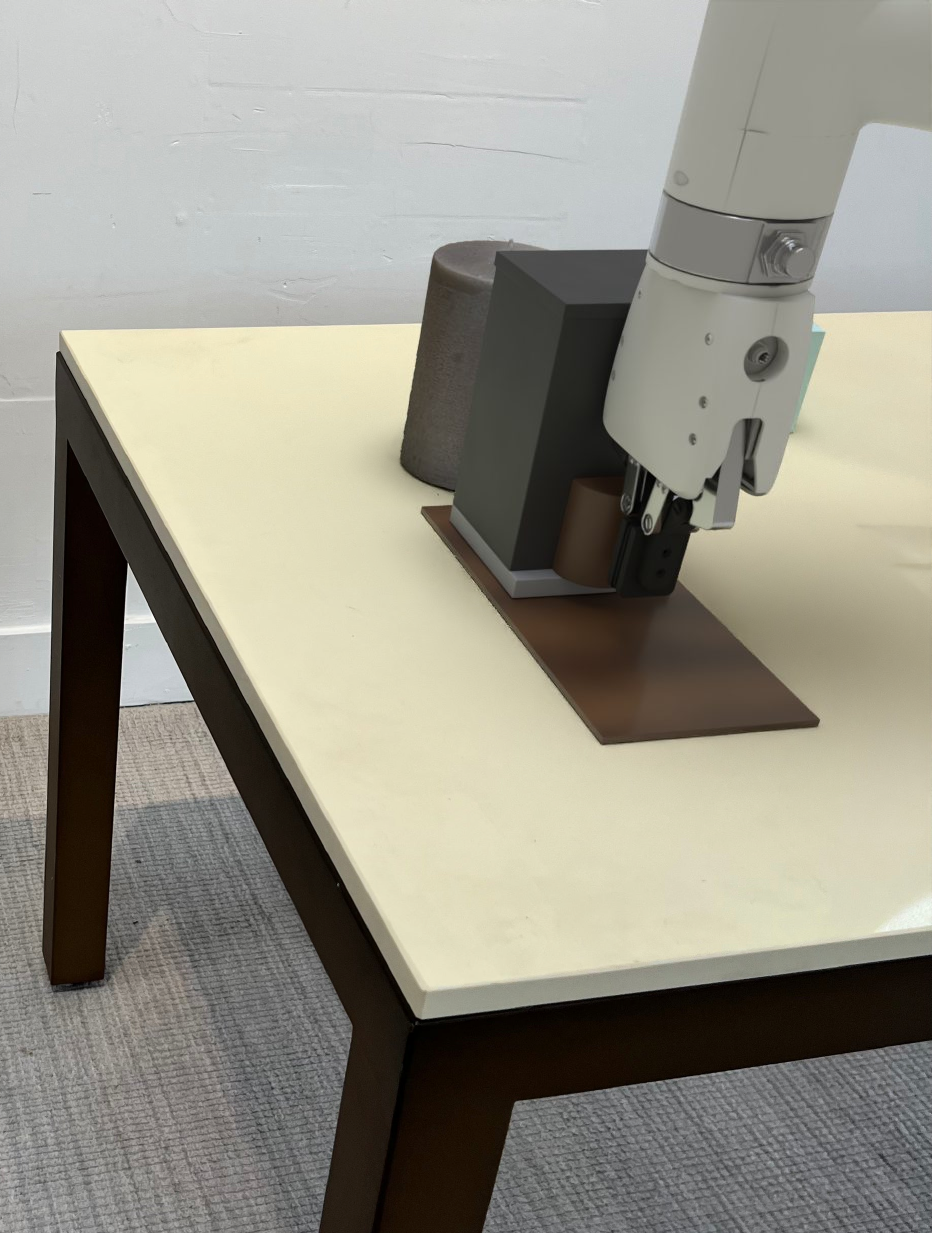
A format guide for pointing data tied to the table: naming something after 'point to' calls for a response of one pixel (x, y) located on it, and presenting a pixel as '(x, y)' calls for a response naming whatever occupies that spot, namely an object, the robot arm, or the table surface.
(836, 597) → the table surface
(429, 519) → the base board
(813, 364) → the right angle wall
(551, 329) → the coffee maker
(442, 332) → the pillar candle
